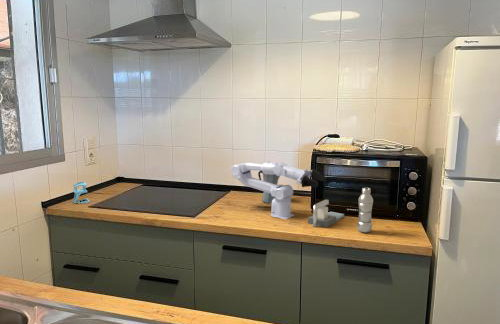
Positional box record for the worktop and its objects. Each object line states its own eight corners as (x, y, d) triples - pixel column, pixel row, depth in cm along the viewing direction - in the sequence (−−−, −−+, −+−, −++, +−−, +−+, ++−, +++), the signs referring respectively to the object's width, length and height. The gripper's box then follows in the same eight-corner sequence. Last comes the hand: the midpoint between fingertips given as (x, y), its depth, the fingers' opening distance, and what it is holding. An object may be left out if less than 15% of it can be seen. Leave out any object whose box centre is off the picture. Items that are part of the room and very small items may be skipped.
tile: (319, 218, 190) (319, 215, 190) (327, 213, 197) (327, 210, 197) (336, 221, 184) (336, 218, 184) (343, 216, 191) (344, 214, 191)
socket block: (307, 223, 181) (307, 217, 181) (317, 218, 189) (317, 212, 188) (326, 228, 175) (326, 221, 175) (336, 222, 183) (336, 216, 182)
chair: (72, 202, 220) (70, 182, 218) (87, 199, 225) (85, 180, 223) (74, 205, 214) (72, 184, 212) (90, 202, 219) (88, 182, 216)
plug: (316, 223, 182) (316, 207, 180) (320, 221, 185) (320, 205, 183) (323, 225, 179) (324, 208, 178) (327, 223, 182) (328, 207, 181)
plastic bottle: (357, 233, 168) (359, 189, 164) (356, 228, 174) (357, 186, 171) (372, 234, 167) (375, 190, 163) (370, 229, 173) (372, 186, 170)
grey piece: (315, 227, 175) (316, 206, 173) (312, 226, 176) (312, 205, 175) (328, 220, 185) (329, 200, 184) (324, 219, 186) (325, 199, 185)
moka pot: (276, 205, 213) (277, 170, 209) (253, 201, 221) (253, 167, 217) (284, 201, 221) (284, 167, 217) (261, 197, 229) (261, 165, 225)
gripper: (289, 171, 178) (315, 179, 171) (304, 162, 189) (329, 169, 181) (288, 184, 181) (313, 193, 173) (303, 175, 191) (327, 182, 184)
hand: (321, 181), depth 178 cm, fingers open, 7 cm apart
